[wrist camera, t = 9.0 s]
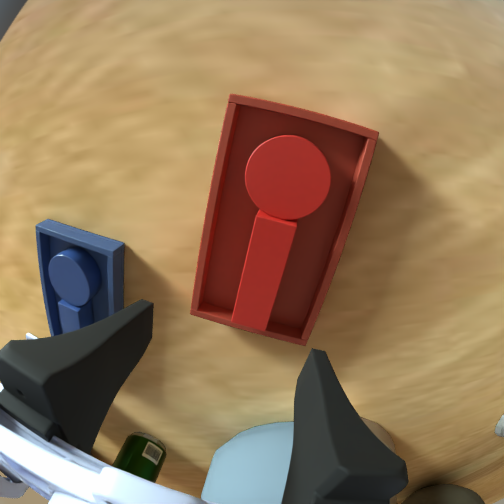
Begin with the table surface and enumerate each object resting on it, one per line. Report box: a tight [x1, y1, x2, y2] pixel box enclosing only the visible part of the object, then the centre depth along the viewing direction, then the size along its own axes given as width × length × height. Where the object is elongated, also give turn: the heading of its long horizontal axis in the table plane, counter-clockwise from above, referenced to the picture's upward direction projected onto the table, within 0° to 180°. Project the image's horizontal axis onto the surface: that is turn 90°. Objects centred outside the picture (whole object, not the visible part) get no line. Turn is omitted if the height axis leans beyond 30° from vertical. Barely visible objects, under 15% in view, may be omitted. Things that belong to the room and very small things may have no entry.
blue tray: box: [36, 219, 125, 337], centre depth 23 cm, size 14×8×2 cm, turn 167°
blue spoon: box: [49, 246, 102, 334], centre depth 23 cm, size 11×4×2 cm, turn 167°
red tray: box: [190, 94, 379, 346], centre depth 18 cm, size 14×8×2 cm, turn 167°
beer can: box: [112, 432, 166, 483], centre depth 27 cm, size 5×5×12 cm
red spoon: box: [231, 135, 331, 331], centre depth 18 cm, size 11×4×2 cm, turn 167°
